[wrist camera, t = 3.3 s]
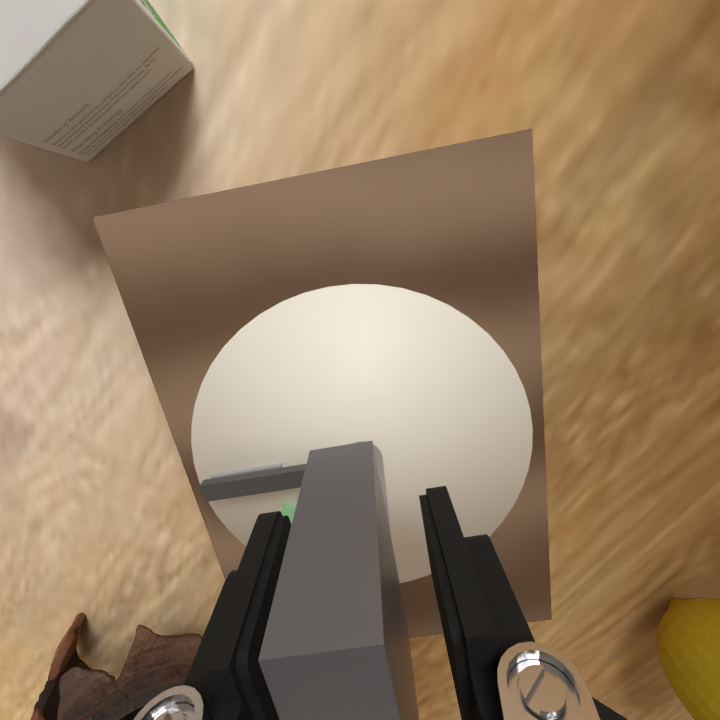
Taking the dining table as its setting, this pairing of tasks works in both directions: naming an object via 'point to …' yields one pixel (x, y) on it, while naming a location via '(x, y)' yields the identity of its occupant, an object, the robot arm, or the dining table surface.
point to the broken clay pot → (101, 691)
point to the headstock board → (340, 267)
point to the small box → (82, 71)
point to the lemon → (693, 654)
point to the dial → (368, 408)
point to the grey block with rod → (334, 591)
